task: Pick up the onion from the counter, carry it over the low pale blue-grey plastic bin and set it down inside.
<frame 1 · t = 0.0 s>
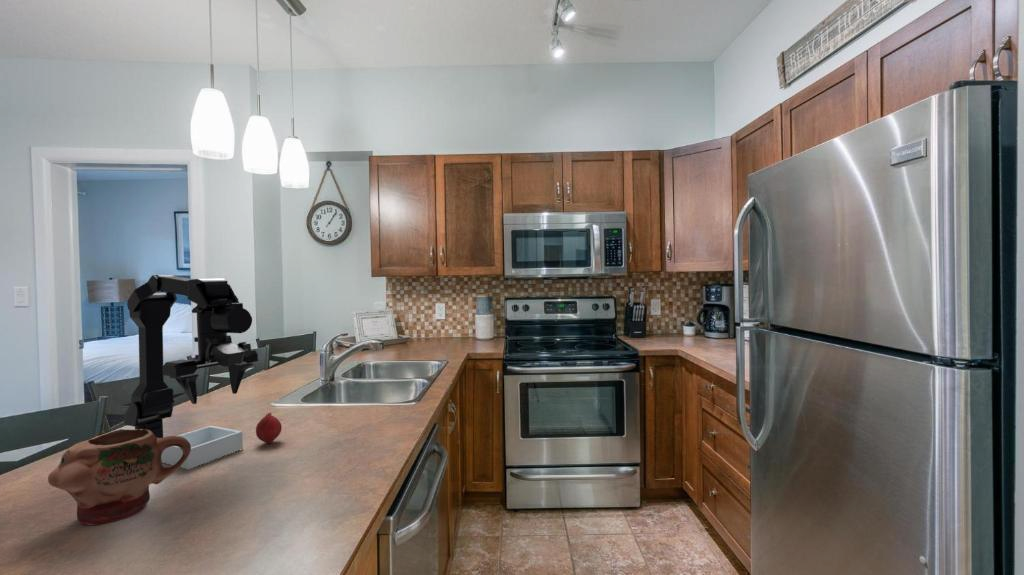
hand: (215, 398, 105), 15 cm above the counter, tool pointing down, fingers open, 9 cm apart
bin: (201, 455, 109), on the counter
tan novelty mug: (127, 509, 83), on the counter
onion: (269, 444, 115), on the counter
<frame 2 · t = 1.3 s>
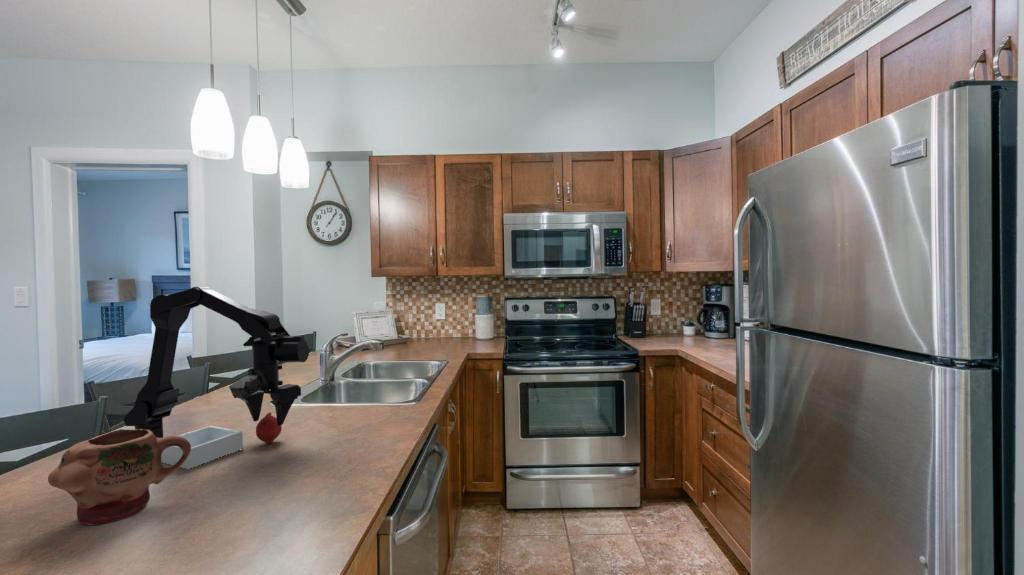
hand: (268, 423, 115), 5 cm above the counter, tool pointing down, fingers open, 9 cm apart
nothing on the counter moved.
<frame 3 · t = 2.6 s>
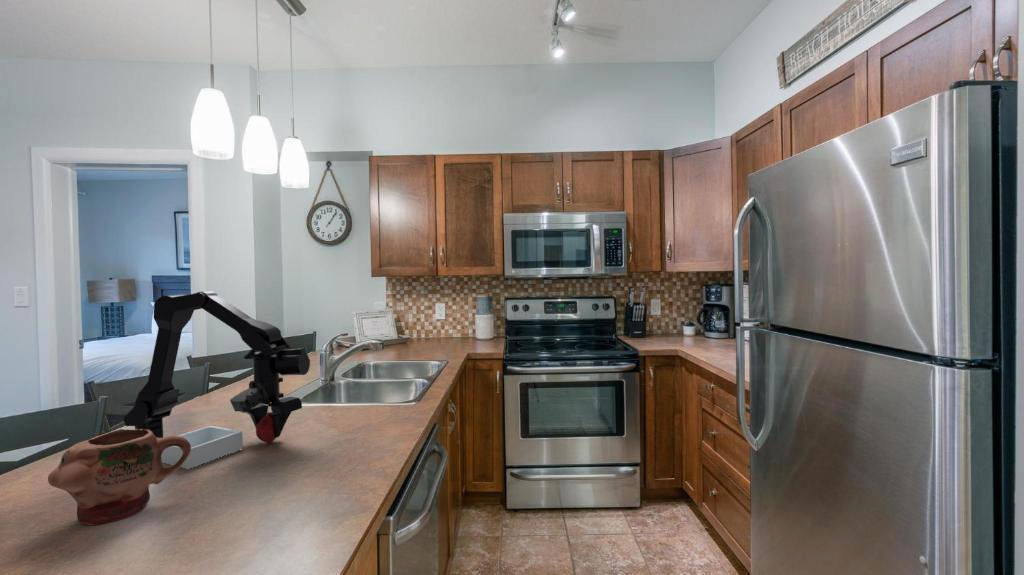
hand: (268, 435, 115), 2 cm above the counter, tool pointing down, fingers closed on onion, 6 cm apart
onion: (269, 444, 115), on the counter, touching gripper
everything else where it was.
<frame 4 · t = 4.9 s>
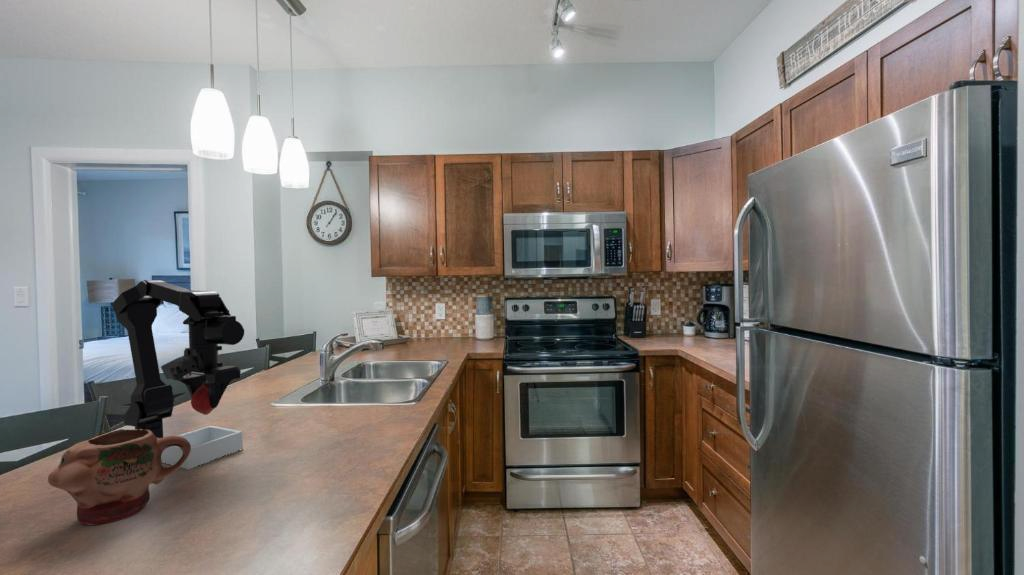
hand: (205, 406, 109), 12 cm above the counter, tool pointing down, fingers closed on onion, 6 cm apart
onion: (206, 415, 109), point 9 cm above the counter, touching gripper
everything else where it was.
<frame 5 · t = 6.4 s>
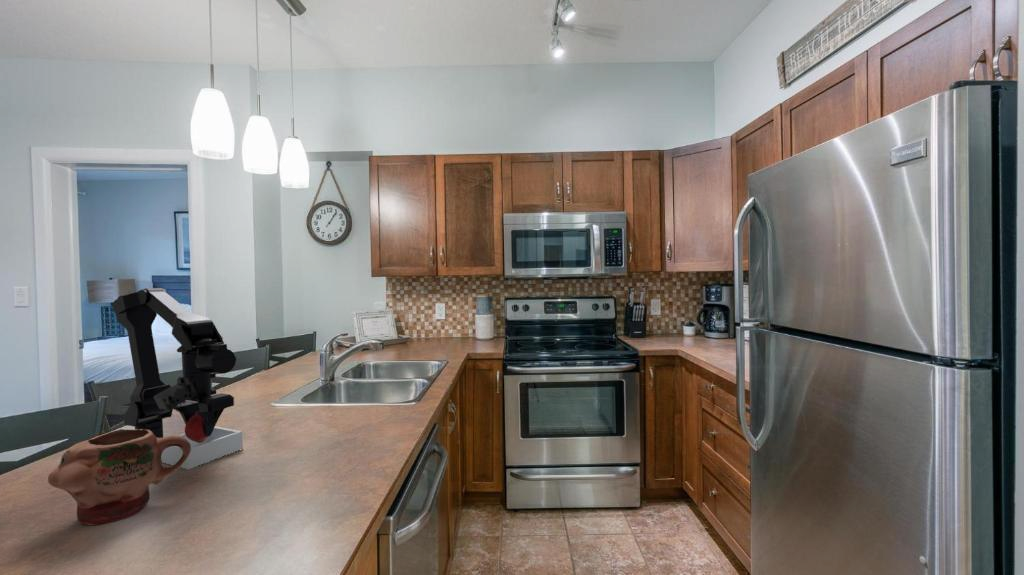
hand: (199, 434, 108), 5 cm above the counter, tool pointing down, fingers closed on onion, 6 cm apart
onion: (200, 443, 108), point 3 cm above the counter, touching gripper
everything else where it was.
when the fingers open (5 cm above the counter, at t = 7.2 s): onion drops 2 cm, resting on bin.
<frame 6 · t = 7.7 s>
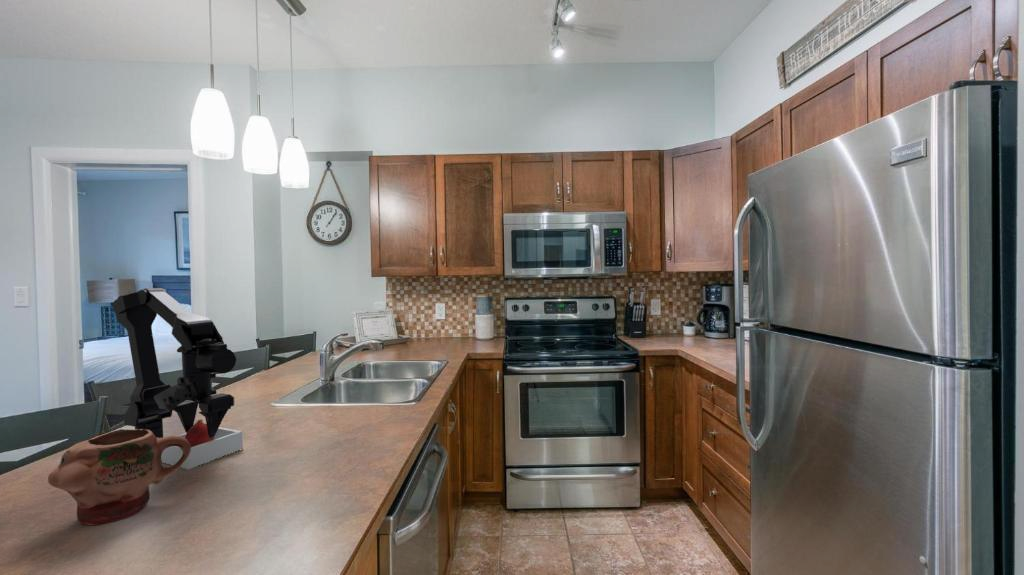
hand: (200, 434, 108), 5 cm above the counter, tool pointing down, fingers open, 9 cm apart
onion: (200, 453, 109), resting on bin
everything else where it was.
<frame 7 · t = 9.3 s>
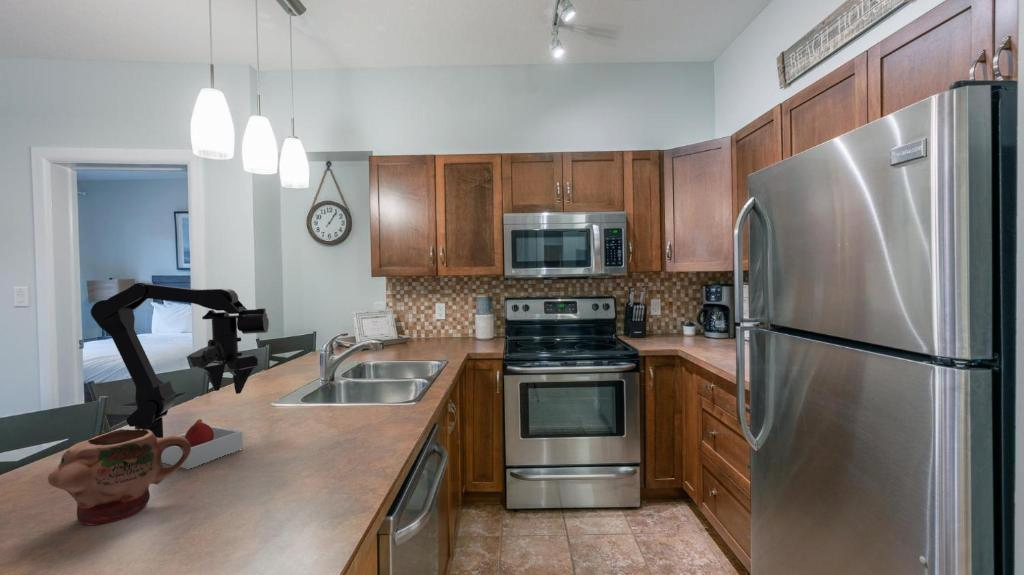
hand: (227, 392, 122), 12 cm above the counter, tool pointing down, fingers open, 9 cm apart
nothing on the counter moved.
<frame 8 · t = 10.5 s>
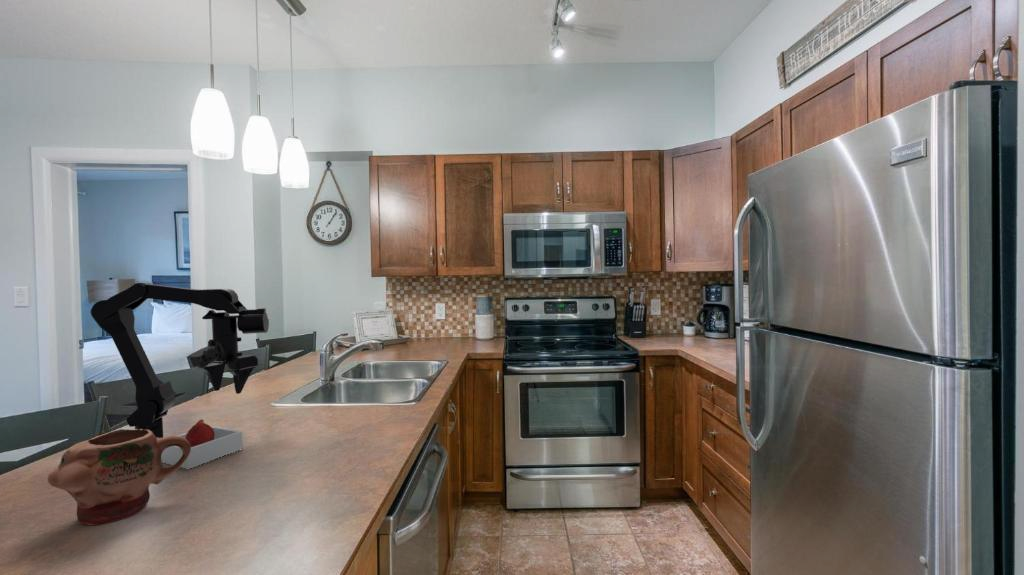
hand: (227, 392, 122), 12 cm above the counter, tool pointing down, fingers open, 9 cm apart
nothing on the counter moved.
at the end: onion inside the target area on the bin (0.2 cm from its centre), point 0.4 cm above the bin's base; the gripper is holding nothing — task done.
